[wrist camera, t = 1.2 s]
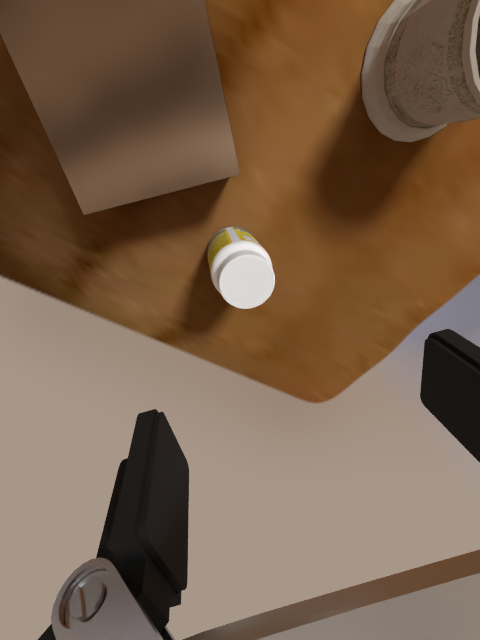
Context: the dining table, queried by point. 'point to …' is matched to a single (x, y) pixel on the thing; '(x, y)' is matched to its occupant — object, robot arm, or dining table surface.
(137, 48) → the walnut block
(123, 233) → the dining table surface
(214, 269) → the supplement bottle
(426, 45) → the mug
